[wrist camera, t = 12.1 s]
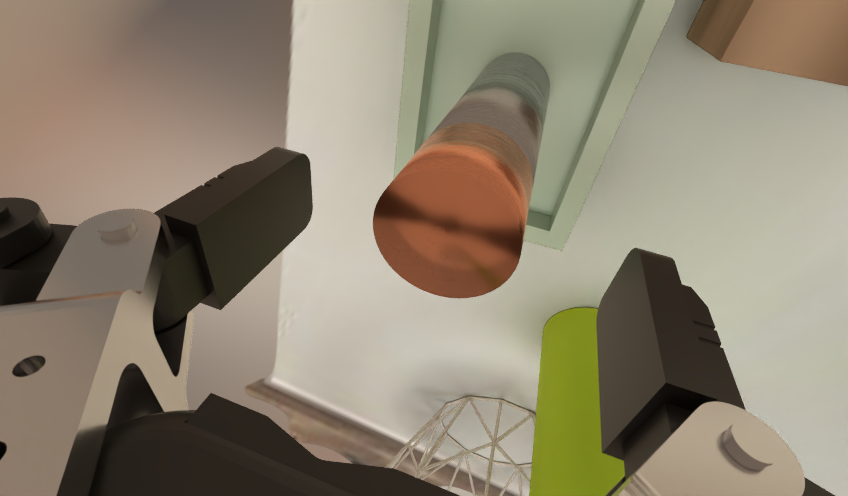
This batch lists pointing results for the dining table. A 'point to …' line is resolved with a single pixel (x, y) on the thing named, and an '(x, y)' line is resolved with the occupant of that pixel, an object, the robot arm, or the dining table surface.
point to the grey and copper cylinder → (469, 186)
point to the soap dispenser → (570, 412)
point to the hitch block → (777, 36)
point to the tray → (568, 74)
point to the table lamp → (465, 452)
